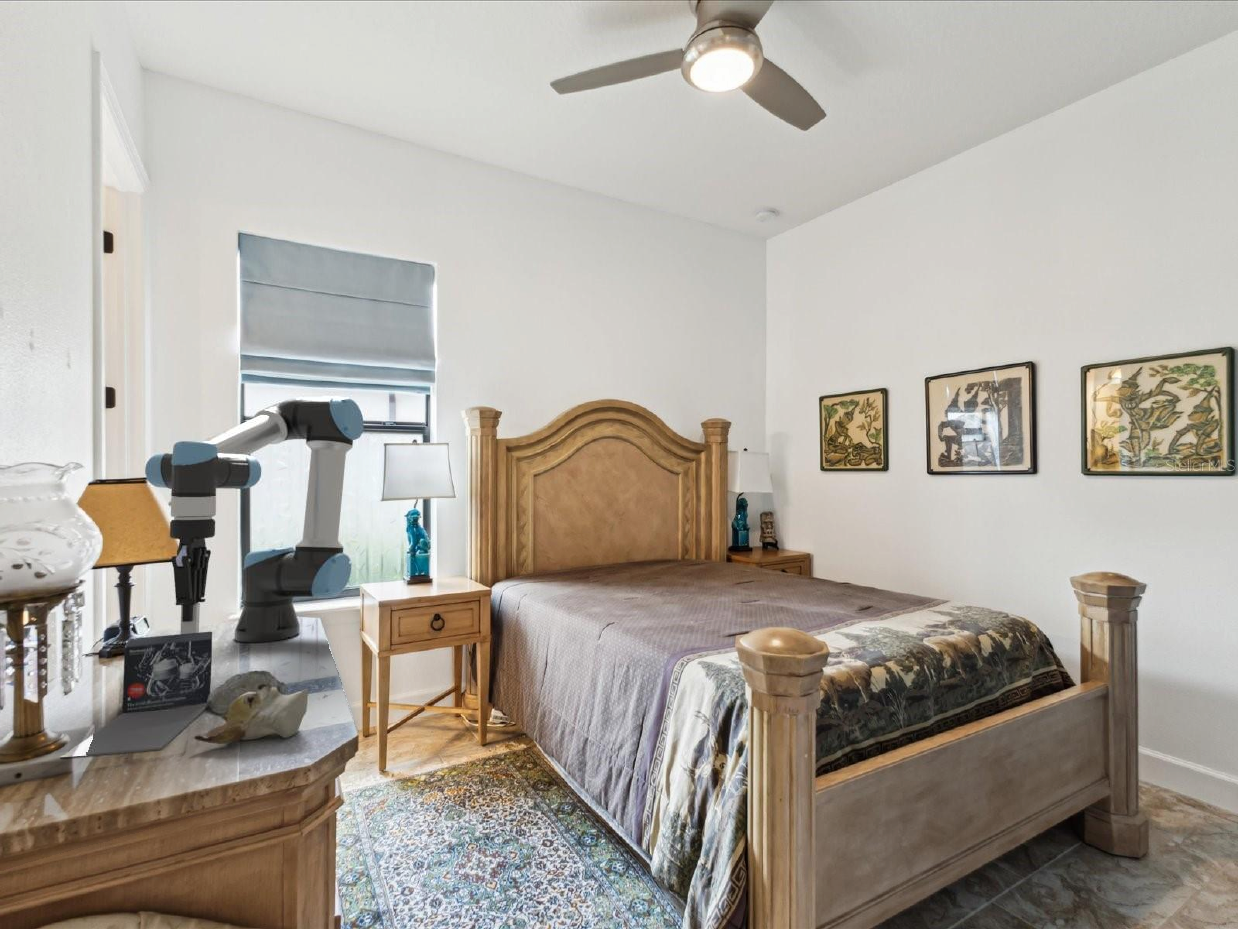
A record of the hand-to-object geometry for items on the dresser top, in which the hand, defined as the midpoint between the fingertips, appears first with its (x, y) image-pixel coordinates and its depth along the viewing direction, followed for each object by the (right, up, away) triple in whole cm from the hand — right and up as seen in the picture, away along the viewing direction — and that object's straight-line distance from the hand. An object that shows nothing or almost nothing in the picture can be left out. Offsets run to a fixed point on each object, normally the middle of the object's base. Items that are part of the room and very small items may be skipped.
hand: (189, 636), depth 125 cm
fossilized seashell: (+17, -10, -9) cm, 22 cm away
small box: (+2, -10, -9) cm, 14 cm away
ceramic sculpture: (+28, -10, -24) cm, 38 cm away
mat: (+7, -9, -22) cm, 25 cm away
